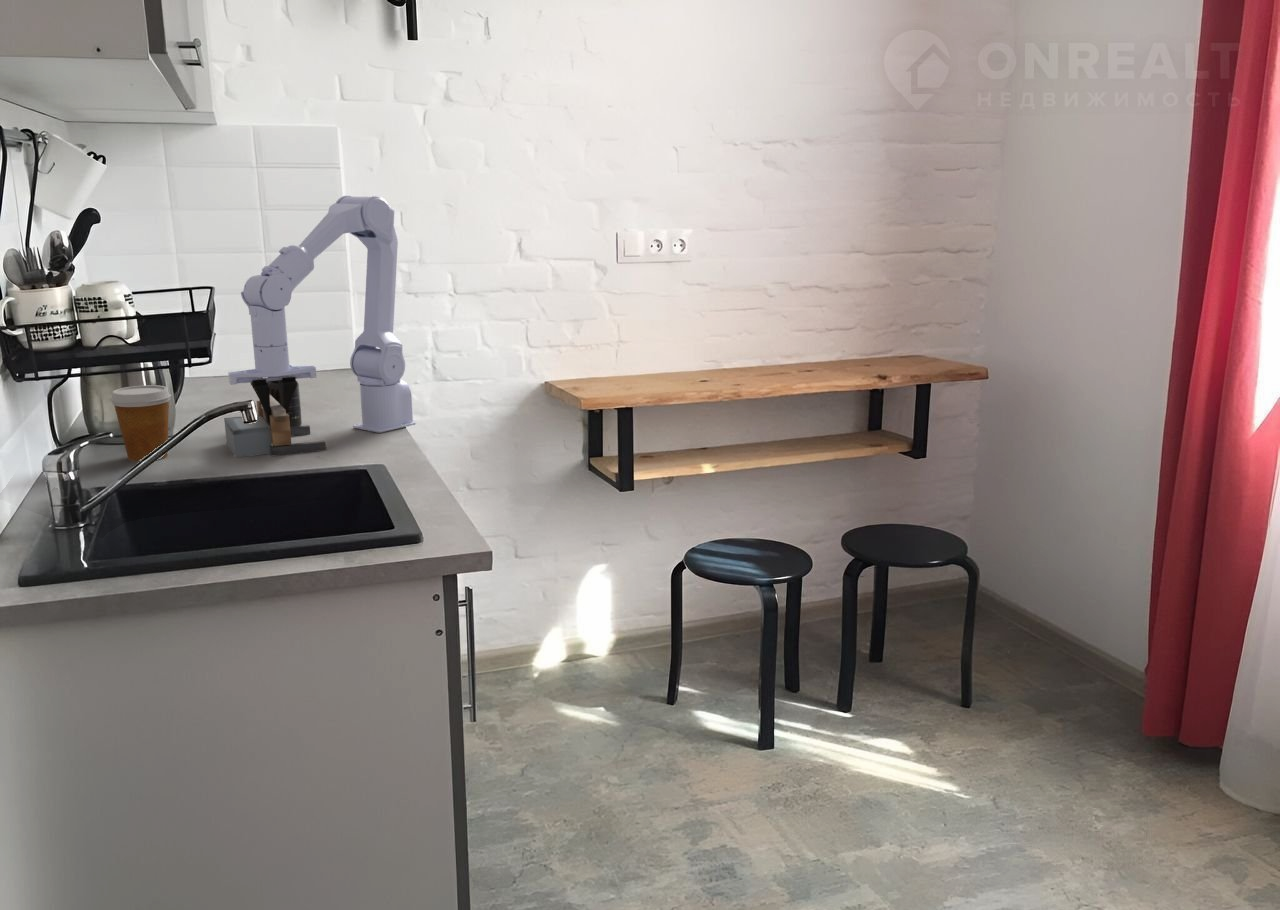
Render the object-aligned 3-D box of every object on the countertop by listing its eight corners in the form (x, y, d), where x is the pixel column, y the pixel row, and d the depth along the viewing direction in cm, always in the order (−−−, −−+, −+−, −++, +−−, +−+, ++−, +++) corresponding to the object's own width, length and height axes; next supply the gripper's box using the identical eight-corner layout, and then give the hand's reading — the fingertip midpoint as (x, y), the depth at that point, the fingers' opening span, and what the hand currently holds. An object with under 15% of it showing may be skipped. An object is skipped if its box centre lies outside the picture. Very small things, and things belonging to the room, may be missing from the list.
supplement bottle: (258, 428, 209) (252, 367, 206) (284, 421, 215) (279, 362, 212) (283, 432, 206) (278, 370, 203) (309, 425, 212) (305, 365, 209)
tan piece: (276, 431, 203) (272, 394, 201) (291, 449, 190) (288, 409, 188) (259, 433, 202) (256, 395, 200) (274, 451, 188) (270, 411, 186)
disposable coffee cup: (113, 466, 182) (104, 396, 179) (123, 452, 191) (115, 386, 188) (173, 462, 184) (166, 393, 181) (181, 449, 193) (173, 383, 190)
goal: (261, 439, 200) (259, 414, 199) (272, 453, 190) (270, 426, 189) (226, 443, 197) (224, 418, 196) (235, 457, 187) (233, 430, 186)
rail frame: (309, 432, 206) (308, 425, 205) (326, 449, 193) (325, 441, 192) (257, 438, 201) (256, 430, 201) (271, 455, 188) (270, 447, 188)
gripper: (308, 339, 194) (313, 412, 198) (223, 344, 188) (230, 420, 191) (316, 344, 188) (322, 419, 192) (229, 350, 182) (236, 428, 185)
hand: (277, 420), depth 191 cm, fingers closed on tan piece, 2 cm apart
